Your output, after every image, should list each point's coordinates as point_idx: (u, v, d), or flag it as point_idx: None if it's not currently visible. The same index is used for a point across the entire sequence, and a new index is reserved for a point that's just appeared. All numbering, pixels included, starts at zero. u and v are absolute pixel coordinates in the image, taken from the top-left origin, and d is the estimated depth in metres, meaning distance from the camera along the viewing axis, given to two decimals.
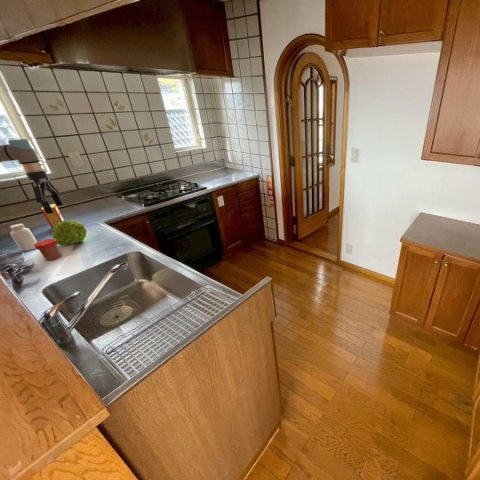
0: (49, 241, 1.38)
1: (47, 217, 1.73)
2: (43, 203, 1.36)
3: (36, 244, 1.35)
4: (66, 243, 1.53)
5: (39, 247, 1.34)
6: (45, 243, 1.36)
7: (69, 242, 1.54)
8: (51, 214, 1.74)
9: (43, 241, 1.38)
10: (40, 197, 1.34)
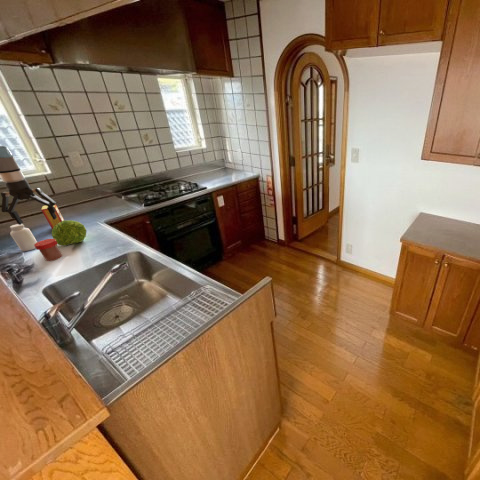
0: (49, 241, 1.38)
1: (47, 217, 1.73)
2: (53, 207, 1.35)
3: (36, 244, 1.35)
4: (66, 243, 1.53)
5: (39, 247, 1.34)
6: (45, 243, 1.36)
7: (69, 242, 1.54)
8: None
9: (43, 241, 1.38)
10: (52, 200, 1.34)
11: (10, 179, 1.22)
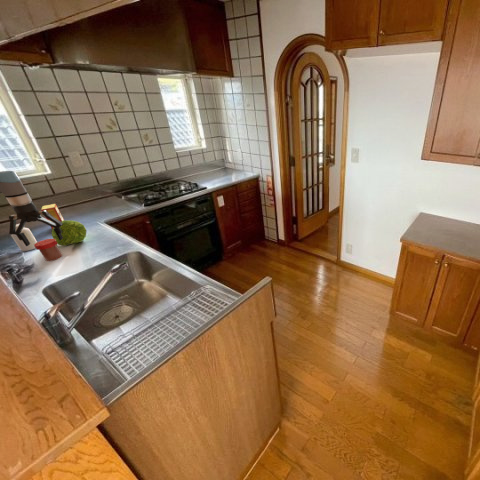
0: (49, 241, 1.38)
1: None
2: (59, 228, 1.37)
3: (36, 244, 1.35)
4: (66, 243, 1.53)
5: (39, 247, 1.34)
6: (45, 243, 1.36)
7: (69, 242, 1.54)
8: (51, 214, 1.74)
9: (43, 241, 1.38)
10: (59, 221, 1.37)
11: (18, 203, 1.24)
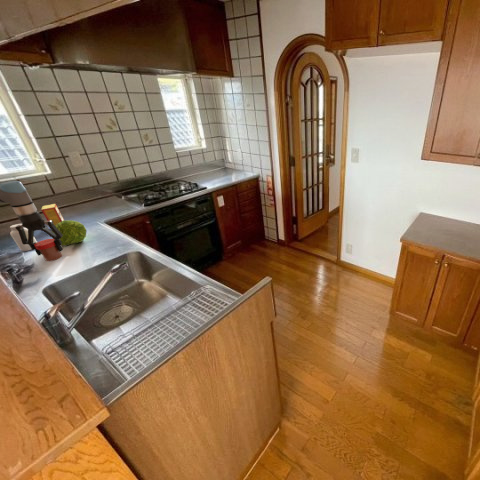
0: (49, 241, 1.38)
1: (47, 217, 1.73)
2: (59, 239, 1.40)
3: (36, 244, 1.35)
4: (66, 243, 1.53)
5: (39, 247, 1.34)
6: (45, 243, 1.36)
7: (69, 242, 1.54)
8: (51, 214, 1.74)
9: (43, 241, 1.38)
10: (60, 233, 1.39)
11: (23, 212, 1.26)
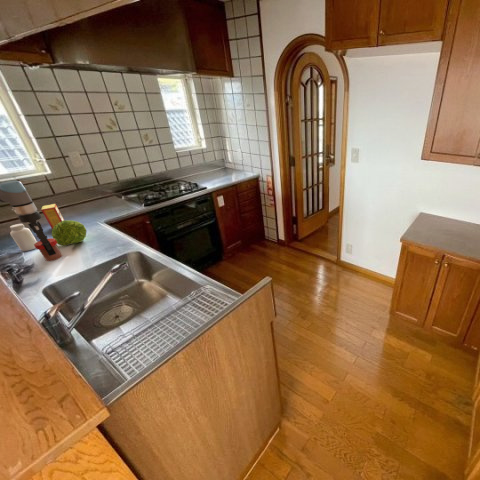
0: None
1: (47, 217, 1.73)
2: None
3: None
4: (66, 243, 1.53)
5: (55, 240, 1.39)
6: (50, 239, 1.39)
7: (69, 242, 1.54)
8: (51, 214, 1.74)
9: (41, 243, 1.36)
10: None
11: None
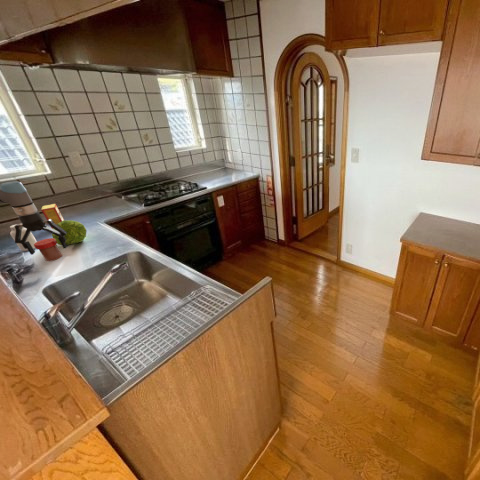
0: (40, 242, 1.37)
1: (47, 217, 1.73)
2: None
3: (52, 239, 1.39)
4: (66, 243, 1.53)
5: None
6: (43, 240, 1.39)
7: (69, 242, 1.54)
8: (51, 214, 1.74)
9: (46, 242, 1.36)
10: None
11: None
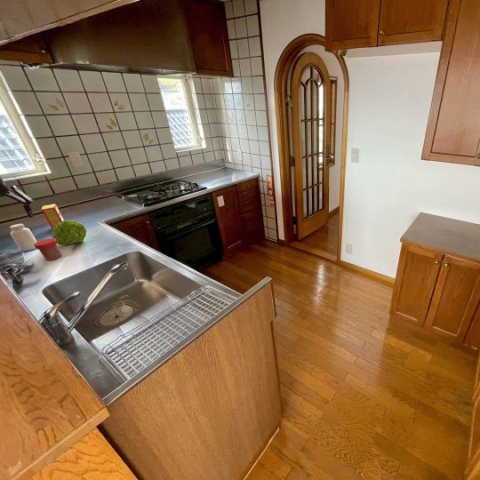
0: (40, 242, 1.37)
1: (47, 217, 1.73)
2: None
3: (52, 239, 1.39)
4: (66, 243, 1.53)
5: None
6: (43, 240, 1.39)
7: (69, 242, 1.54)
8: (51, 214, 1.74)
9: (46, 242, 1.36)
10: None
11: None
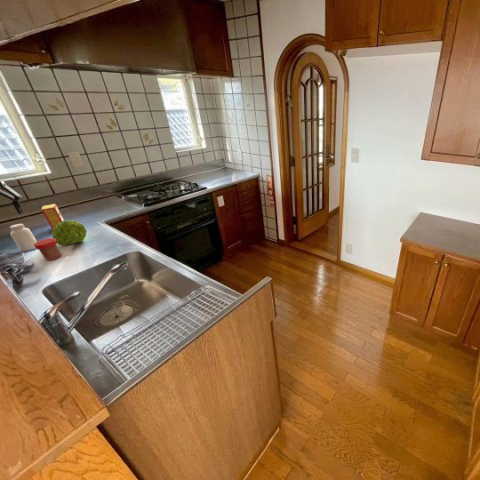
0: (40, 242, 1.37)
1: (47, 217, 1.73)
2: None
3: (52, 239, 1.39)
4: (66, 243, 1.53)
5: None
6: (43, 240, 1.39)
7: (69, 242, 1.54)
8: (51, 214, 1.74)
9: (46, 242, 1.36)
10: None
11: None
